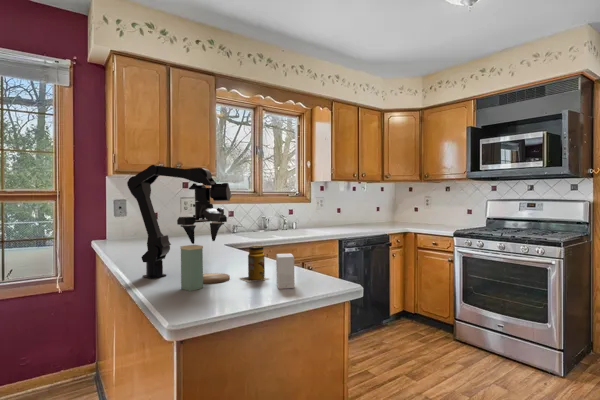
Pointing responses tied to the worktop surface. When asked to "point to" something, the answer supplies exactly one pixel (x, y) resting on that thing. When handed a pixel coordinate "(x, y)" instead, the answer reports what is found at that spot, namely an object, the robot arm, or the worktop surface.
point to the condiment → (255, 264)
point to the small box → (285, 271)
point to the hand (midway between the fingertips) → (203, 242)
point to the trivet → (215, 278)
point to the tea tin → (191, 267)
